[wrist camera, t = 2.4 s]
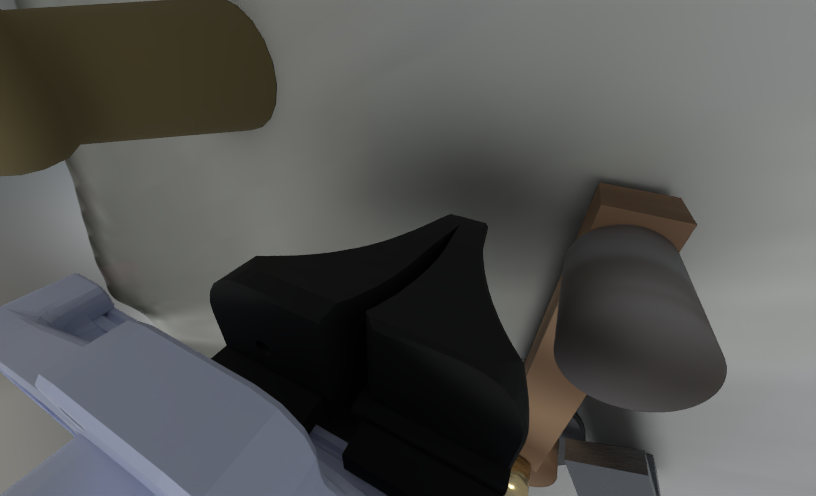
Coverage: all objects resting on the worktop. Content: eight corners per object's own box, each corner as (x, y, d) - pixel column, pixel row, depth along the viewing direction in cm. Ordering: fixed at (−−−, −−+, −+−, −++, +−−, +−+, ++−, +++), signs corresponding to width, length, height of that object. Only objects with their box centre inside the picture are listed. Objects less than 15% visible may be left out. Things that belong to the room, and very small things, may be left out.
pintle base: (469, 428, 23) (449, 492, 20) (468, 364, 20) (444, 429, 17) (574, 469, 21) (572, 552, 17) (595, 402, 17) (596, 489, 14)
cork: (286, 43, 15) (-120, 42, 6) (267, 151, 18) (2, 239, 10) (187, -32, 15) (-326, -128, 6) (188, 90, 19) (-131, 127, 10)
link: (546, 463, 20) (534, 585, 16) (479, 430, 22) (450, 533, 17) (718, 205, 10) (829, 342, 5) (568, 176, 11) (555, 265, 7)
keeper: (594, 458, 19) (595, 540, 16) (568, 382, 17) (564, 459, 14) (656, 469, 17) (671, 564, 14) (636, 386, 15) (648, 476, 12)
